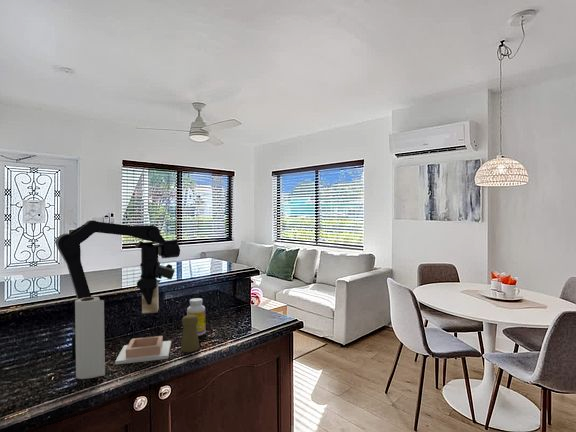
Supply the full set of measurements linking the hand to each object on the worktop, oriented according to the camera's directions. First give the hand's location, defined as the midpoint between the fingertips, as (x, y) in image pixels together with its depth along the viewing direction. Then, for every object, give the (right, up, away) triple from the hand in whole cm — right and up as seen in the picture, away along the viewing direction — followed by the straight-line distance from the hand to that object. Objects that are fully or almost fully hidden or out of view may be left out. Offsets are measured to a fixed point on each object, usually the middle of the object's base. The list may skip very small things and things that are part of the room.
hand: (150, 302), depth 124 cm
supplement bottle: (+16, -13, +4) cm, 21 cm away
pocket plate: (+4, -13, -13) cm, 19 cm away
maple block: (0, -3, 0) cm, 3 cm away
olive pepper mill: (+17, -13, -10) cm, 24 cm away
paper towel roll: (-6, -13, -28) cm, 32 cm away
